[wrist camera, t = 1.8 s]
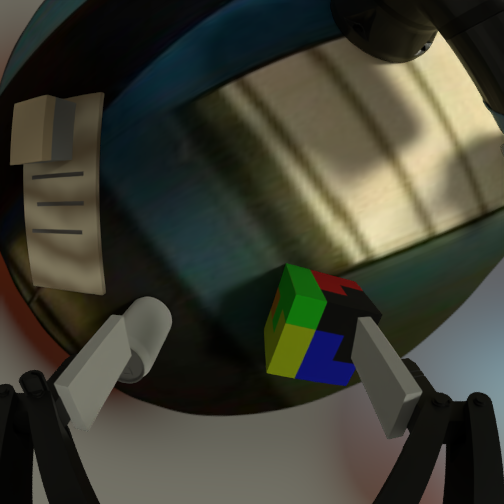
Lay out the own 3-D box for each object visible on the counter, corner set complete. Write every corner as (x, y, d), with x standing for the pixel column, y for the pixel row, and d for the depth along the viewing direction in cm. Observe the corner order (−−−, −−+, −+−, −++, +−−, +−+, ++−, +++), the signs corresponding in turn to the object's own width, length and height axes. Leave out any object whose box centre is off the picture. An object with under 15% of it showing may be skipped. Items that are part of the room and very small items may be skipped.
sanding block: (44, 109, 32) (14, 104, 25) (76, 103, 32) (46, 94, 25) (41, 163, 34) (10, 165, 27) (72, 159, 34) (41, 160, 27)
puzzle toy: (329, 342, 42) (346, 385, 32) (263, 329, 41) (266, 372, 32) (355, 281, 39) (382, 314, 30) (286, 263, 39) (296, 294, 29)
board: (31, 108, 32) (27, 107, 31) (104, 93, 33) (100, 92, 32) (36, 283, 40) (33, 285, 39) (105, 292, 40) (103, 295, 39)
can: (166, 293, 40) (137, 338, 28) (177, 333, 42) (155, 386, 30) (125, 297, 40) (87, 340, 29) (137, 336, 42) (107, 385, 30)
